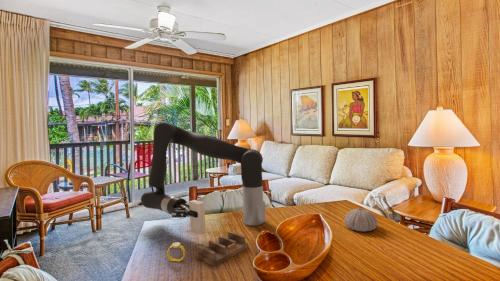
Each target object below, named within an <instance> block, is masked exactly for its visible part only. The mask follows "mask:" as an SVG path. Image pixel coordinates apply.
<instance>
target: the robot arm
mask: <svg viewBox="0 0 500 281" xmlns="http://www.w3.org/2000/svg"><path fill="white" fill-rule="evenodd" d="M169 144H175V145H179V146H183V147H185V148H188V149H190V150H191V151H194V152H196V153H197V154H200V155H201V156H205V157H208V158H212V159H218V160H225V161H226V160H227V161H233V162H235V163H238V164H240V174H241V176H240V177H241V181H242V182H241V183H242V185H241V186H242V214H243V216H242V218H243V220H242V221H243V224H244V225H246V226H252V227H255V226H260V225H262V224H263V223H266V202H265V201H264V183H263V182H264V181H263V165H262V164H263V163H264V162H263V160H264V158H263V155H262V153H261V152H260V151H258V149H257V150H256V149H254V148H253V149H252V148H248V147H243V146H239V145H235V144H232V143H230V142H228V141H226V140H224V139H223V140H222V139H219V138H216V137H215V136H211V135H207V134H204V133H199V132H192V131H189V130H187V129H183V128H181V127H179V126H177V125H175V124H172V123H169V122H159V123H158V124H156V126H155V127H154V130H153V148H152V149H153V151H152V162H151V166H150V167H151V168H150V173H149V178H148V185H149V187H152V188H155V191H146V192H144V193H143V194H142V195H141V197H140V201H141V205H142V207H144V208H146V209H151V210H152V209H153V210H159V211H162V212H165V213H166V214H168V215H171V217H172V218H182V219H183V218H184V219H185V218H187V217H189V218H190V216H192V217H195V218H197V217H198V212H196V211H193V210H190V207H189V202H188V201H187V200H186V199H185V198H182V197H179V196H176V195H175V196H174V195H170V194H166V192H165V191H166V190H165V188H166V187H165V182H166V176H167V170H168V166H167V165H168V164H167V151H168V147H169Z"/></svg>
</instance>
